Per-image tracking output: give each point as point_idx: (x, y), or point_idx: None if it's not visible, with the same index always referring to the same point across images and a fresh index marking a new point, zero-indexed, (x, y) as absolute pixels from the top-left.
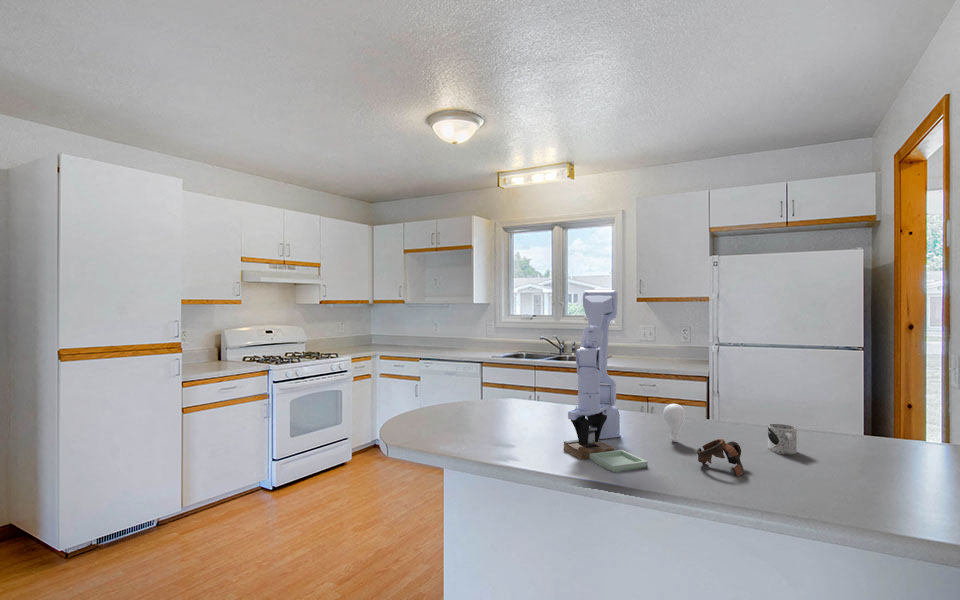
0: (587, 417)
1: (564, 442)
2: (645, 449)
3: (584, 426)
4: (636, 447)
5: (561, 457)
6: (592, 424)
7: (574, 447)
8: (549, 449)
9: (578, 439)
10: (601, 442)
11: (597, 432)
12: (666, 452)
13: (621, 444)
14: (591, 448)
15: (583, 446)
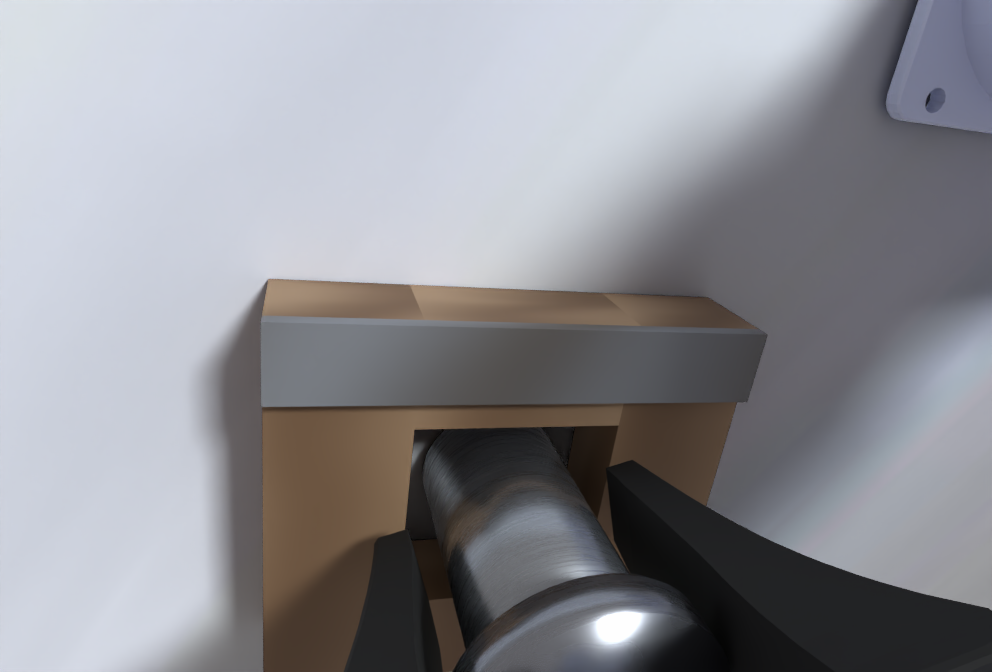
0: (815, 657)
1: (261, 335)
2: (948, 519)
3: None
4: (949, 460)
5: (73, 516)
6: (736, 650)
7: (276, 551)
8: (51, 181)
9: (371, 577)
10: (702, 474)
11: None
12: (980, 603)
13: (941, 349)
14: (448, 618)
15: (433, 509)
